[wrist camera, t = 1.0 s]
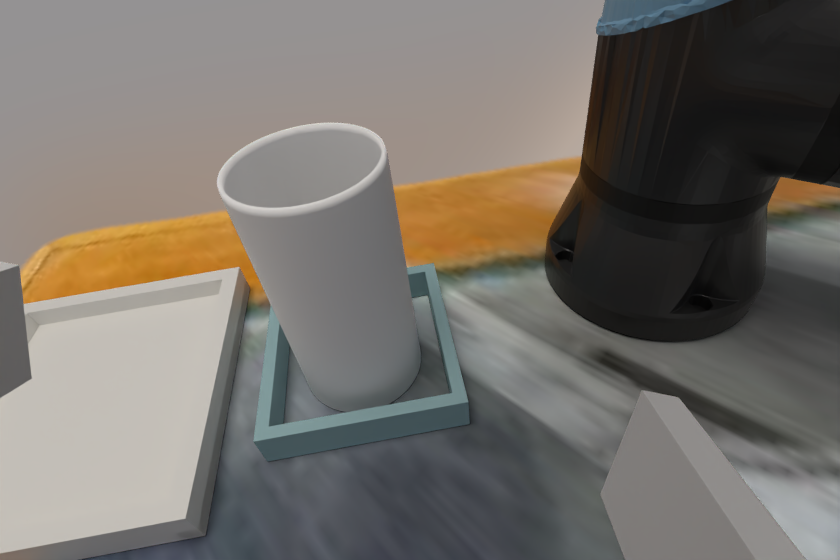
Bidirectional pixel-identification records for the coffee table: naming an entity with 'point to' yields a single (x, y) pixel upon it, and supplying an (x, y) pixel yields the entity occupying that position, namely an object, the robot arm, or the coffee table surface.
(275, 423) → the collar
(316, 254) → the cup
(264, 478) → the coffee table surface
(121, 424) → the tray
